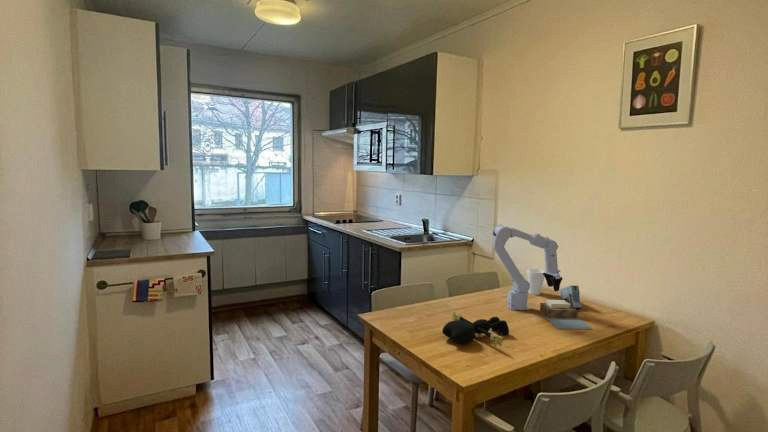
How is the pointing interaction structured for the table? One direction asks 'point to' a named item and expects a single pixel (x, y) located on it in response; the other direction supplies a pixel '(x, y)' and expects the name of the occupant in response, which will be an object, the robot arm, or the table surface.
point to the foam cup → (535, 280)
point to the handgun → (572, 296)
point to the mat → (569, 323)
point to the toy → (474, 329)
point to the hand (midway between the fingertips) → (553, 288)
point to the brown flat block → (558, 311)
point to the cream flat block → (557, 303)
